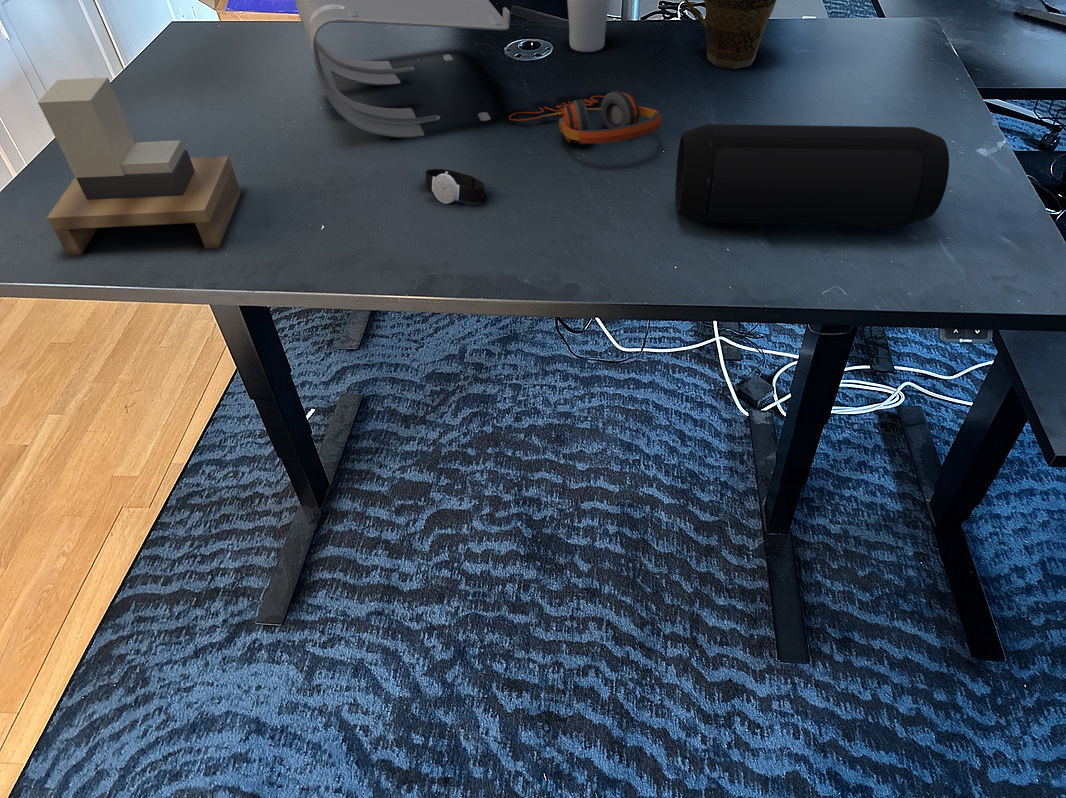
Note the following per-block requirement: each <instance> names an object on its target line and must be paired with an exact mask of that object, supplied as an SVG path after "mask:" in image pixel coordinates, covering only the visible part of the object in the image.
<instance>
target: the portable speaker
mask: <svg viewBox="0 0 1066 798" xmlns="http://www.w3.org/2000/svg"><path fill="white" fill-rule="evenodd" d="M678 145H679V146H678V151H677V158H676V159H677V160H676V173H675V190H674V191H675V192H674V193H675V195H674V196H675V212H676V213H677V214H679V215H681V216H684V217H686V218H688V219H691V220H693V221H696V222H699V223H717V224H718V223H720V224H721V223H727V224H779V225H780V224H782V225H819V226H821V225H822V226H824V225H825V226H846V227H847V226H849V227H852V226H853V227H883V228H885V227H886V228H887V227H888V228H889V227H892V228H894V227H895V228H902V227H906V226H908V225H909V226H910V225H911V224H915V223H918V222H921V221H924V220H927V219H929V218H931V217H932V216H934V214H935V213H936V212H937V210H938V209H939V207H940V205H941V203H942V201H943V198H944V196H945V193H946V189H947V185H948V180H949V173H950V154H949V148H948V145H947V142H946V141H945V139H944V138H942V137H941V136H939V135H938V134H935V133H932V132H930V131H927V130H926V129H923V128H920V127H915V126H875V125H874V126H873V125H872V126H869V125H868V126H867V125H865V126H863V125H795V124H794V125H792V124H789V125H788V124H734V123H733V124H730V123H729V124H728V123H727V124H726V123H722V124H719V123H717V124H716V123H712V124H711V123H708V124H704V125H701V126H697V127H694V128H692V129H689V130H686V131H684V132H682V133H681V136H680V139H679V144H678Z"/></svg>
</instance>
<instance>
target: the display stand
mask: <svg viewBox="0 0 1066 798" xmlns="http://www.w3.org/2000/svg"><path fill="white" fill-rule="evenodd" d="M190 159H191V162H192V165H193V167H194V170H195V171H194V173H193V175H192V177H191V179H190V181H189V183H188V185H187V187H186V189H185V191H184V193H183V195H172V196H150V197H129V198H107V199H86V197H85V195H84V193H83V191H82V189H81V187H80V185H79V183H78V181H77V179H76V177H75V176H74V178H73V179H72V181H71V182H70V184H69V185H68V187H67V188H66V189H65V190H64V192H63V193H62V194H61V197H60V198H59V199H58V201H57V202H56V204H55V205H54V206H53V208H52V209H51V211H50V212H49V214H48V215H47V217H46V219H47V221H48V224H50V226H51V228H52V230H53V232H54V234H55V235H56V237H57V239H58V241H59V242H60V245H61V247H62V248H63V249H64V251H65V254H66V255H67V256H79V255H80V256H81V255H82V254H83V253H84V251H85V250H86V248H87V247H88V245H89V243H90V242H91V240H92V238H93V236H94V235H95V233H96V232H97V230H98V229H99V228H117V227H118V228H121V227H137V226H138V227H139V226H140V227H141V226H158V225H159V226H160V225H161V226H162V225H179V224H195V226H196V229H197V231H198V234H199V236H200V239H201V242H202V244H203V246H204V249H218V248H220V246H221V244H222V241H223V239H224V237H225V234H226V232H227V230H228V226H229V224H230V221H231V219H232V216H233V214H234V212H235V209H236V206H237V204H238V201H239V199H240V196H241V193H242V191H241V189H240V185H239V183H238V180H237V177H236V173H235V171H234V168H233V165H232V162H231V159H230V156H229V155H222V156H203V157H200V156H199V157H190Z"/></svg>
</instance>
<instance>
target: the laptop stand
mask: <svg viewBox="0 0 1066 798" xmlns="http://www.w3.org/2000/svg"><path fill="white" fill-rule="evenodd" d="M294 2H295V6H296V9H297V13H298V16H299V19H300V23H301V26H302V29H303V32H304V35H305V38H306V41H307V46H308V48H309V51H310V55H311V58H312V61H313V65H314V67H315V71H316V74H317V77H318V80H319V83H320V85H321V88H322V90H323V92H324V94H325V96H326V98H327V99H328V102H329V103H330V104H331V105H332V107H333V109H335V111H336V112H338V114H339V115H340V116H341V117H343V118H344V119H345V120H346V121H347V122H349V123H350V124H351V125H353V126H354V127H356V128H357V129H359V130H362V131H364V132H367V133H371V134H375V135H379V136H385V137H390V138H407V139H409V138H416V137H422V136H425V132H424V130H423V128H422V127H421V125H420V124H424V123H430V122H435V121H439V120H440V119H441V116H440V115H437V114H434V115H427V116H421V117H417V116H416V114H415V112H414V110H413V108H411V107H404V108H401V107H400V108H392V107H391V108H390V107H389V108H388V107H380V106H374V105H370V104H366V103H363V102H358V101H356V100H353V99H352V98H351V99H350V98H349V97H348V96H346V95H345V94H344V93H342V92H341V91H340V90H339V89H338V88H337V86H336V83H335V80H334V77H333V75H335V76H336V77H338V78H340V79H344V80H346V81H348V82H353V83H356V84H357V83H358V84H362V85H367V86H368V85H369V86H374V87H375V86H378V87H381V86H382V87H383V86H385V87H388V86H392V85H393V86H394V85H398V84H401V80H400V79H399V77H397V75H396V74H401V73H408V72H412V71H414V70H415V67H414V66H404V67H398V68H393V67H392V65H391V62H390V61H389V60H378V61H377V60H361V59H356V58H355V59H354V58H351V57H346V56H343V55H339V54H337V53H334V52H333V51H331V50H329V49H328V48H326V46H324V45H323V44H322V43H321V42H320V41H319V40H318V39H317V35H318V33H319V31H320V30H321V29H322V28H323V27H324V26H327V25H329V24H332V23H355V24H373V25H392V26H393V25H394V26H411V27H429V28H430V27H432V28H449V29H451V28H452V29H469V30H485V31H486V30H487V31H488V30H489V31H508V30H509V29H510V22H511V12H510V10H509V9H508V8H507V7H506V6H505V7H503V8H502V15H501V14H500V13H499V12H498V10H497V9H496V8H495V6H494V5H493V4H492V3H491V1H490V0H294ZM442 57H443V59H444V60H445V62H450V61H453V60H454V57H452V55H451V54H444V55H442ZM477 117H478V119H479V120H480V121H481V122H487V121H490V120H491V119H492V118H491V117H490V115H489V113H488V112H486V111H484V112H479V113H477Z"/></svg>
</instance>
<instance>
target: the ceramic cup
mask: <svg viewBox="0 0 1066 798" xmlns="http://www.w3.org/2000/svg"><path fill="white" fill-rule="evenodd" d="M703 2H704V7H705V8H704V9H705V19H704V18H703V17H702V16H701V14H700V13H699V11H698V10H697V9H696V7H694V5H692V3H690V1H689V0H684V3H685V4H686V6H687V7H688V8H689V9H690V10H691V11H692V13H694V14H695V16H696V17H697V19H698V20H699V22H700V23H701V24H702V25H703V28H704V30H705V32H706V33H705V34H706V35H705V37H706V59H707V61H709V62H710V63H711V64H713V65H714V66H715V67H719V68H723V69H729V70H737V69H742V68H747V67H751V65H752V64H753V62H754V61H755V59H756V56H757V53H758V51H759V48H760V45H761V42H762V39H763V36H764V34H765V30H766V28H767V24H768V22H769V20H770V17H771V15H772V14H773V11H774V8H775V5H776V2H777V0H703Z"/></svg>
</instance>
